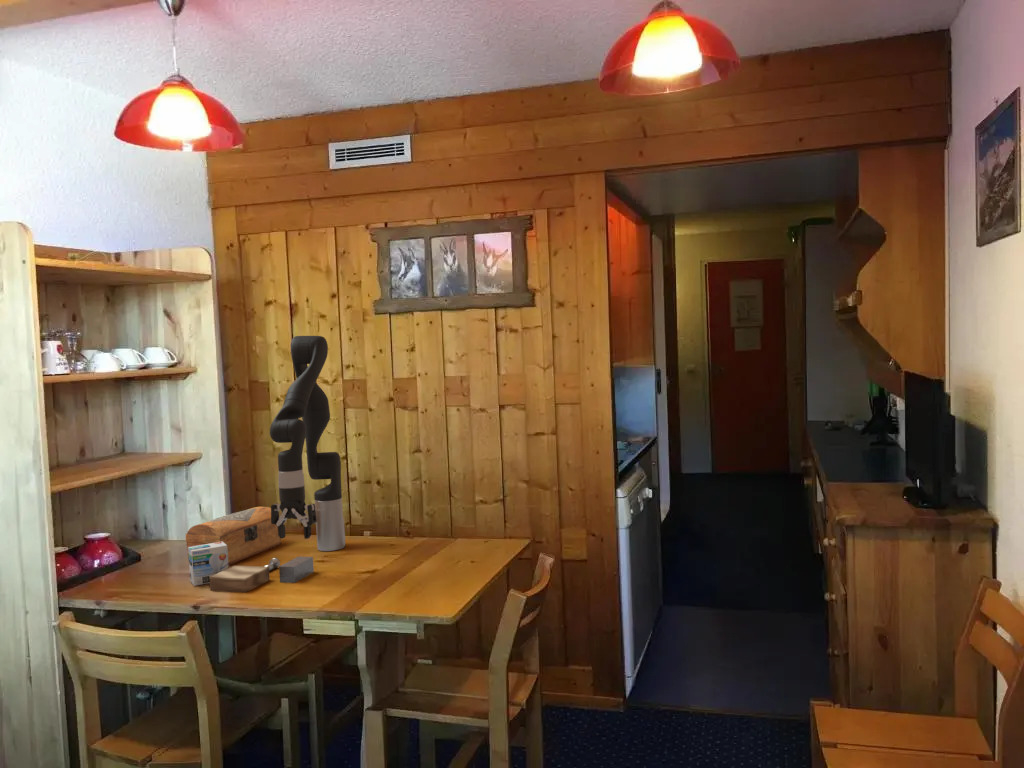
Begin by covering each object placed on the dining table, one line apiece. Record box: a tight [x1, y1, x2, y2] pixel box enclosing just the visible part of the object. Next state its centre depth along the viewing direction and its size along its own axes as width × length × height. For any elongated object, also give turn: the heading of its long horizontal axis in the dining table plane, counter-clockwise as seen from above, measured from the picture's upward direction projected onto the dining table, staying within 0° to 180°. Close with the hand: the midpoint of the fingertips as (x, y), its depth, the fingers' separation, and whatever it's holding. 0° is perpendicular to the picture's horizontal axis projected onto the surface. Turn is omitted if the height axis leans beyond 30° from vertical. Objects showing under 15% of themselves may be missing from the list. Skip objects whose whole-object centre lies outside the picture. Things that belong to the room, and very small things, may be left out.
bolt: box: [263, 557, 281, 572], centre depth 256 cm, size 6×3×3 cm, turn 163°
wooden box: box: [185, 506, 282, 566], centre depth 279 cm, size 30×16×14 cm, turn 156°
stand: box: [209, 565, 271, 593], centre depth 242 cm, size 12×12×4 cm
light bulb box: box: [187, 541, 230, 587], centre depth 248 cm, size 11×7×11 cm, turn 122°
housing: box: [278, 556, 315, 584], centre depth 247 cm, size 11×5×5 cm, turn 164°
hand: (294, 538), depth 247 cm, fingers open, 8 cm apart
